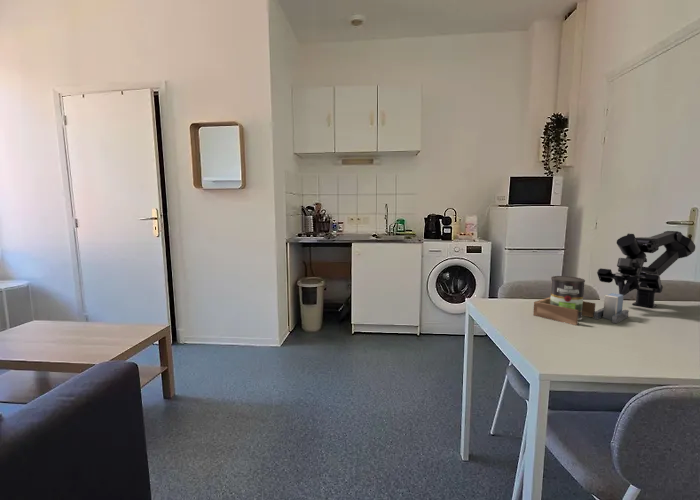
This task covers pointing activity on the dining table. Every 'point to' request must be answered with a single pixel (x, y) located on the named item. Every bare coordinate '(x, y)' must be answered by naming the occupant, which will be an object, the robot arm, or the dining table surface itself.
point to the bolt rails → (615, 317)
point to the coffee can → (567, 293)
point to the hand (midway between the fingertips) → (620, 296)
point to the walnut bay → (561, 311)
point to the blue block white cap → (612, 305)
